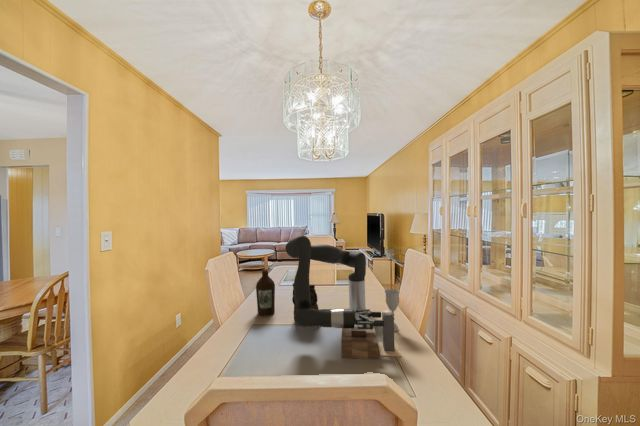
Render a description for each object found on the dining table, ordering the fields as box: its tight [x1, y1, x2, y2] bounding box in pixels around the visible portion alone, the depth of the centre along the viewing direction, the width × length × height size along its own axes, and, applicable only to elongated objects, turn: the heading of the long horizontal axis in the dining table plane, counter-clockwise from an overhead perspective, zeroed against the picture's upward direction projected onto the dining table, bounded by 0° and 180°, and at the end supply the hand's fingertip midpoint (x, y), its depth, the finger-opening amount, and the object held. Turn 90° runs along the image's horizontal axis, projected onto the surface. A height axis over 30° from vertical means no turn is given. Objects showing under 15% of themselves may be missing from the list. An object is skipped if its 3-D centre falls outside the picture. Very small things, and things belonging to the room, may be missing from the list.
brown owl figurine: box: [291, 282, 320, 315], centre depth 135 cm, size 13×13×20 cm
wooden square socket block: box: [340, 326, 379, 360], centre depth 107 cm, size 14×14×6 cm
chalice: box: [384, 288, 400, 332], centre depth 124 cm, size 7×7×18 cm
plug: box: [381, 309, 395, 351], centre depth 105 cm, size 4×4×15 cm
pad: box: [378, 341, 402, 358], centre depth 105 cm, size 10×8×1 cm
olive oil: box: [255, 268, 276, 317], centre depth 148 cm, size 11×11×25 cm
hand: (382, 318), depth 105 cm, fingers open, 8 cm apart
